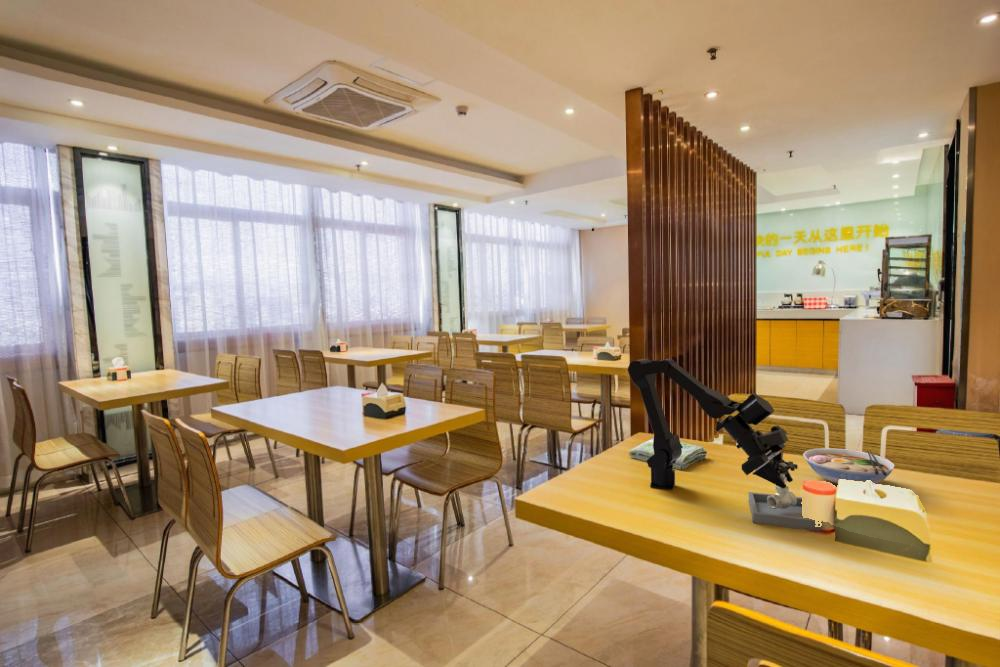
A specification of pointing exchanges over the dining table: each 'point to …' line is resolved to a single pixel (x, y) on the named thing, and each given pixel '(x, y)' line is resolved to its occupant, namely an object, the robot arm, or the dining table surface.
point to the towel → (687, 458)
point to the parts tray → (779, 514)
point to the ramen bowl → (848, 465)
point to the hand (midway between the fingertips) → (788, 484)
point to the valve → (783, 495)
